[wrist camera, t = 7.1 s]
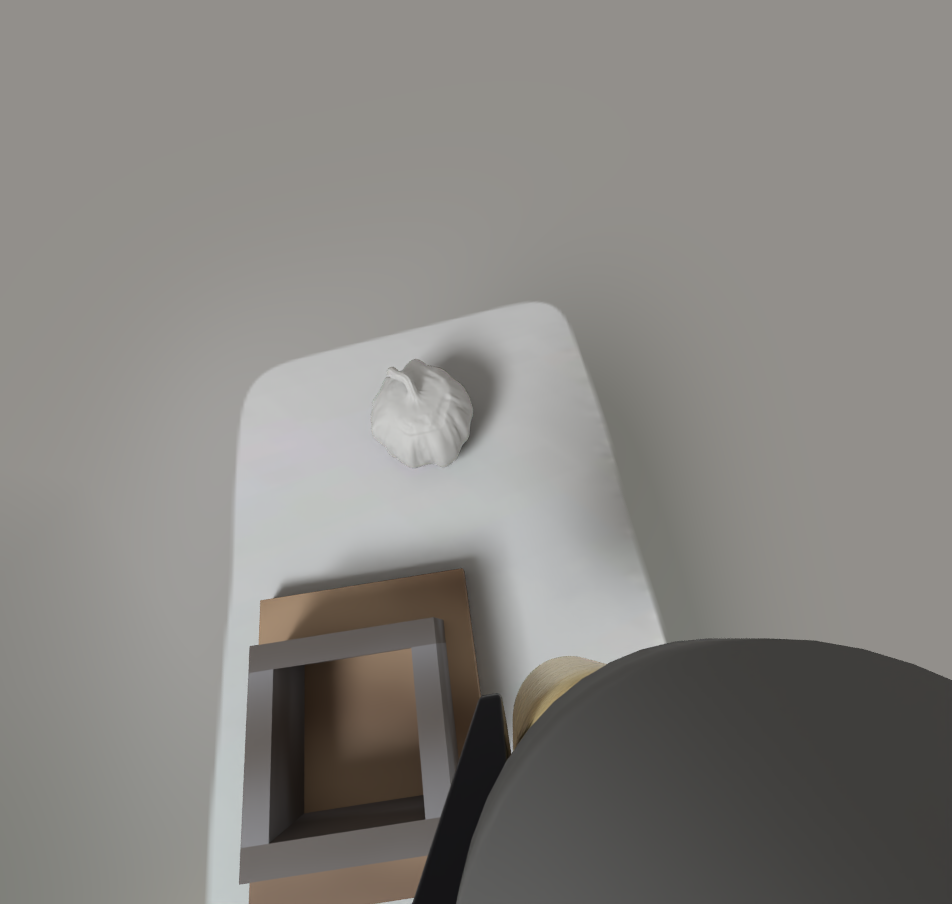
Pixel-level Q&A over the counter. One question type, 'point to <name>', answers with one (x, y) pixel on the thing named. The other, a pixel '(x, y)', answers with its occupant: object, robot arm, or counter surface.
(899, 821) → the grey-topped tan cylinder
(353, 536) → the counter surface
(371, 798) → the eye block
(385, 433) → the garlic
